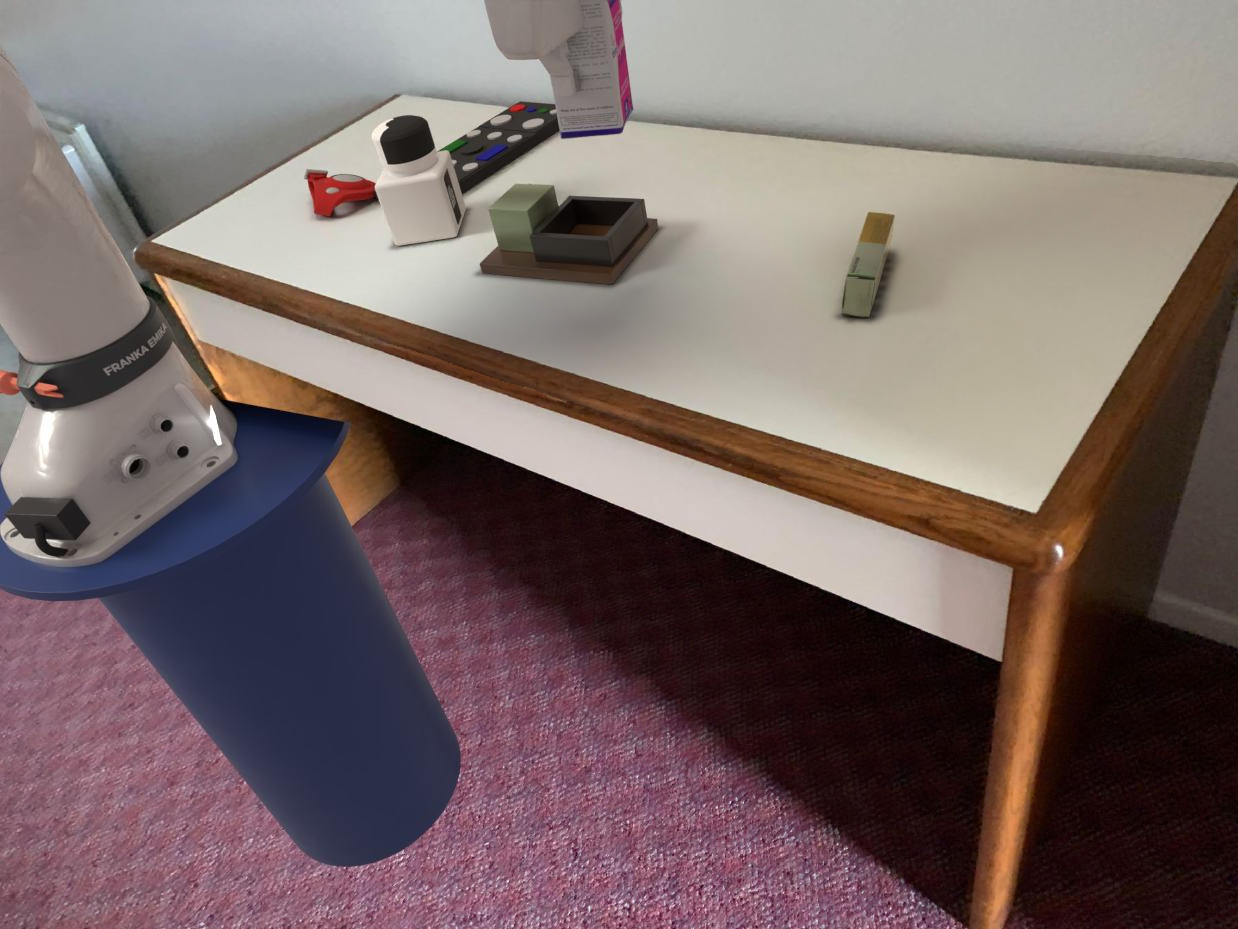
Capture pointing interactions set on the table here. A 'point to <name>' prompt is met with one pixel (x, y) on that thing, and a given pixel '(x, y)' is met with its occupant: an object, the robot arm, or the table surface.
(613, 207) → the desk organizer
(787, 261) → the table surface
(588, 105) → the supplement box
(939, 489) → the table surface
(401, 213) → the container
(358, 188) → the red plastic curved piece
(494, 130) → the remote control
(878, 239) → the medication box
